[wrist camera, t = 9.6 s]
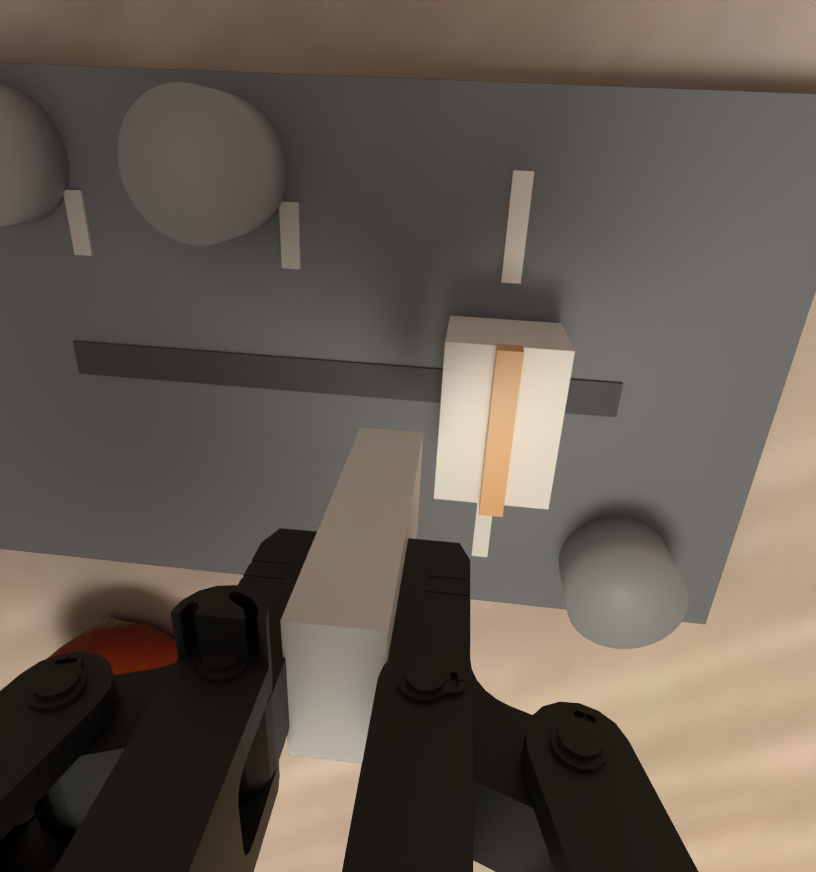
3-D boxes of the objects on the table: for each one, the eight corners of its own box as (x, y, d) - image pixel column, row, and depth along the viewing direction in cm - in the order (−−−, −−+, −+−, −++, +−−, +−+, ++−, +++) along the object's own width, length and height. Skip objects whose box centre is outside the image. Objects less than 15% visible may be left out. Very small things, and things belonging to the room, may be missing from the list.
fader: (439, 456, 21) (432, 510, 18) (450, 314, 19) (443, 346, 16) (539, 465, 21) (550, 521, 18) (561, 321, 19) (578, 356, 16)
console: (17, 521, 28) (-61, 582, 24) (-109, 65, 20) (-256, 43, 16) (689, 590, 25) (728, 671, 21) (838, 102, 18) (943, 87, 14)
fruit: (50, 570, 27) (32, 751, 21) (217, 590, 32) (237, 742, 26) (-5, 671, 30) (-33, 850, 25) (154, 674, 35) (160, 825, 29)
